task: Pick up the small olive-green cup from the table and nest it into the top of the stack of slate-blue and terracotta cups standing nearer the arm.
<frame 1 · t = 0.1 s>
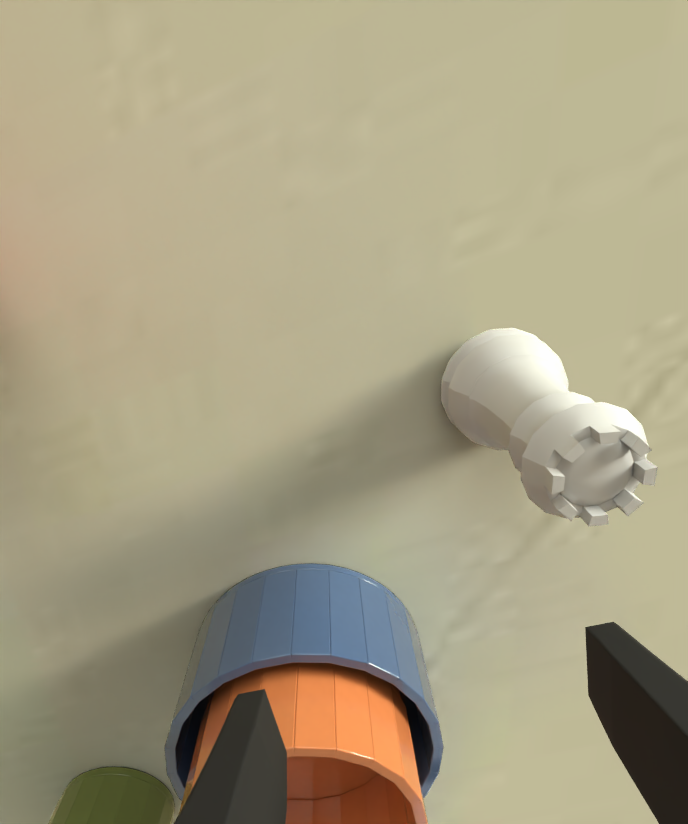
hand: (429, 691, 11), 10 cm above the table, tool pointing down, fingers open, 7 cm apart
stack big: (308, 655, 24), on the table
rook chess piece: (493, 381, 20), on the table
stack mid: (306, 730, 20), in the stack big
olive cup: (119, 804, 27), on the table
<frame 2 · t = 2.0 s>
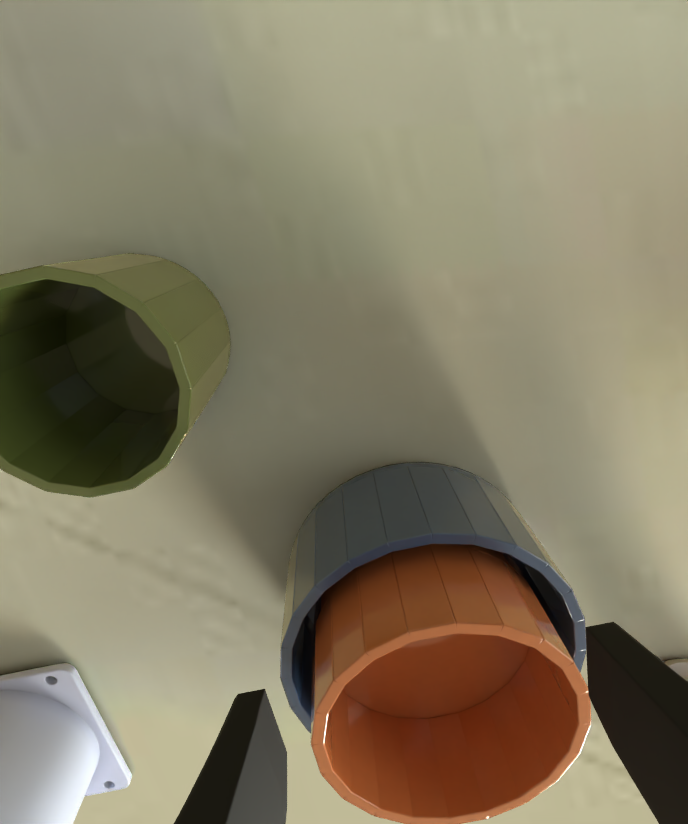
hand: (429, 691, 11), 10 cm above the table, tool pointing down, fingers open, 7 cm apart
stack big: (409, 570, 22), on the table
rook chess piece: (668, 684, 25), on the table
stack mid: (427, 636, 18), in the stack big
olive cup: (148, 339, 18), on the table
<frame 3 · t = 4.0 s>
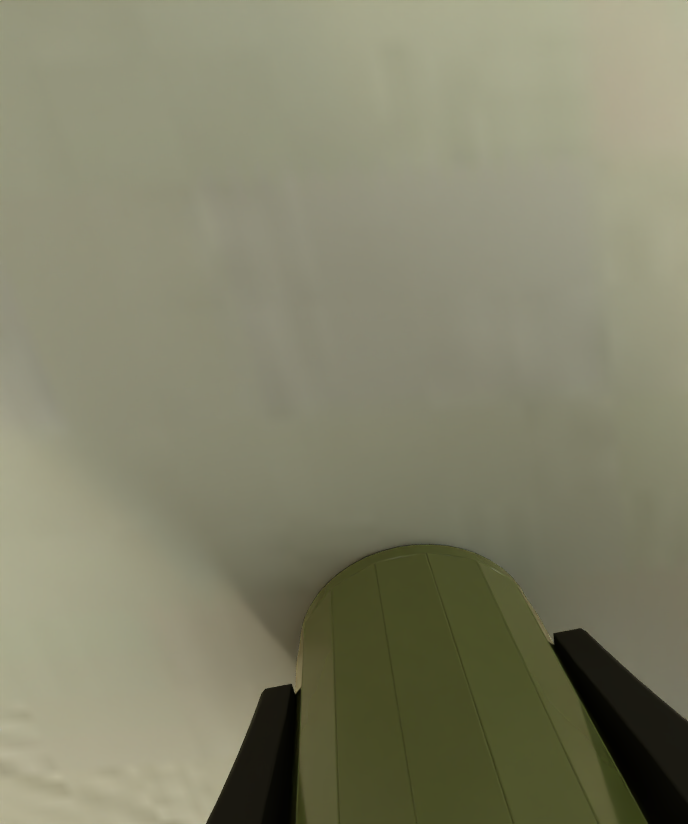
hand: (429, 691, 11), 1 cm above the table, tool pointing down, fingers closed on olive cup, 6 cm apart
olive cup: (416, 642, 13), on the table, touching gripper
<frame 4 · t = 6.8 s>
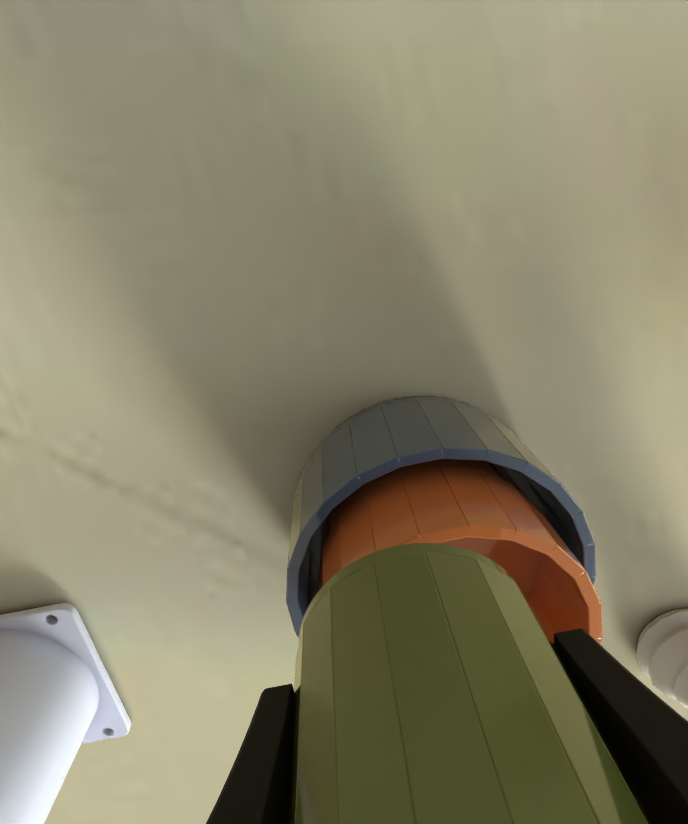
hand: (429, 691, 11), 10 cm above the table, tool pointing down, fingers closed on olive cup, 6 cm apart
stack big: (415, 511, 22), on the table
rook chess piece: (672, 636, 25), on the table
stack mid: (434, 566, 18), in the stack big
olive cup: (416, 641, 12), point 9 cm above the table, touching gripper
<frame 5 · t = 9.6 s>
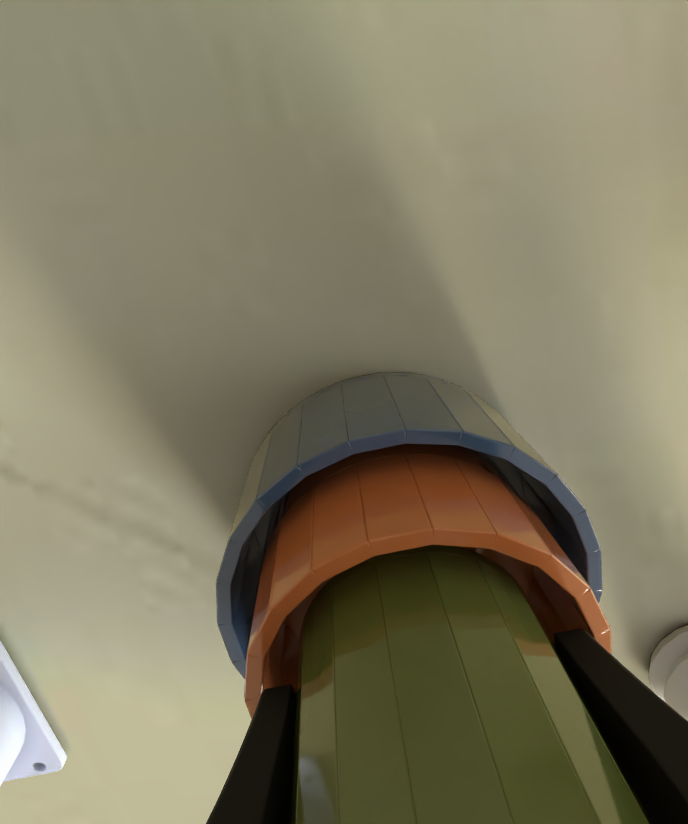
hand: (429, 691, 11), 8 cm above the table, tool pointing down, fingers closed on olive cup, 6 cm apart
stack big: (388, 510, 18), on the table
stack mid: (404, 577, 15), in the stack big
olive cup: (416, 641, 13), point 6 cm above the table, touching gripper
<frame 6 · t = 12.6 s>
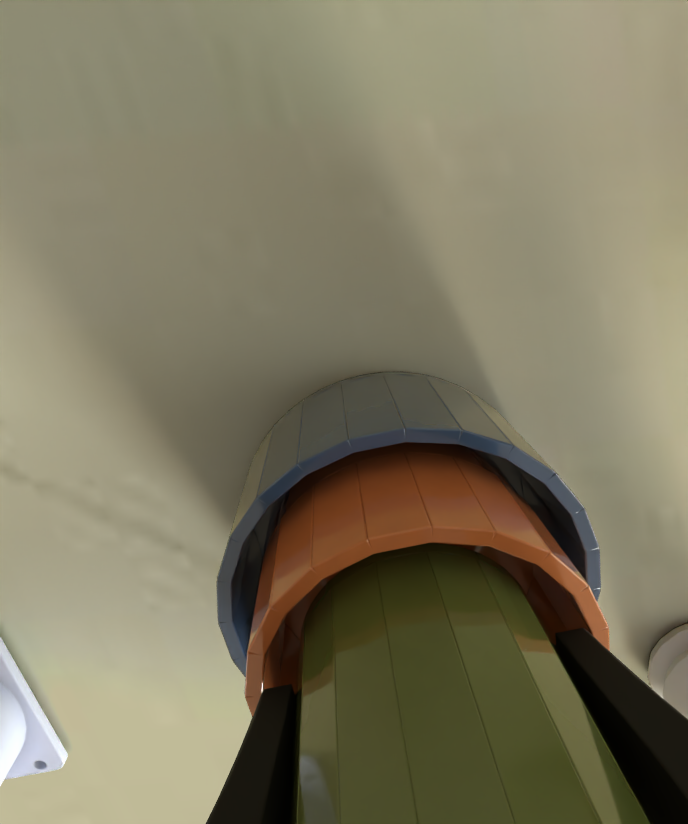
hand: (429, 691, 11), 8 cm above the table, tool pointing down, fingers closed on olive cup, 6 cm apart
stack big: (387, 509, 18), on the table
stack mid: (403, 576, 15), in the stack big
olive cup: (417, 641, 13), point 6 cm above the table, touching gripper
when the fingers open (8 cm above the table, at t = 15.0 s): olive cup drops 3 cm, resting on stack mid.
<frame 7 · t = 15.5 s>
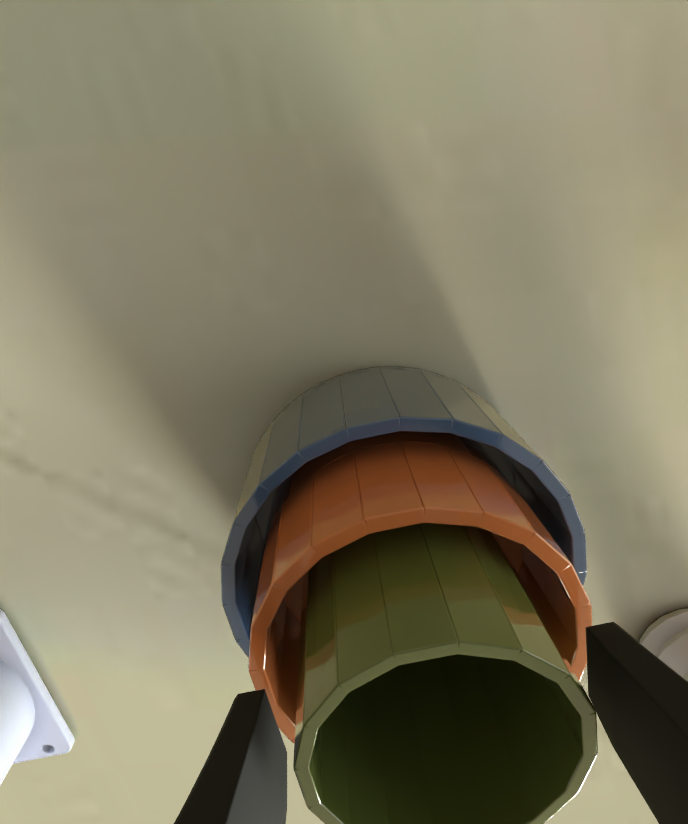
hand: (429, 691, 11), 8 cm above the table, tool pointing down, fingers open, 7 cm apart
stack big: (384, 499, 19), on the table
rook chess piece: (677, 638, 22), on the table
stack mid: (399, 561, 16), in the stack big
olive cup: (400, 565, 15), point 4 cm above the table, touching stack mid
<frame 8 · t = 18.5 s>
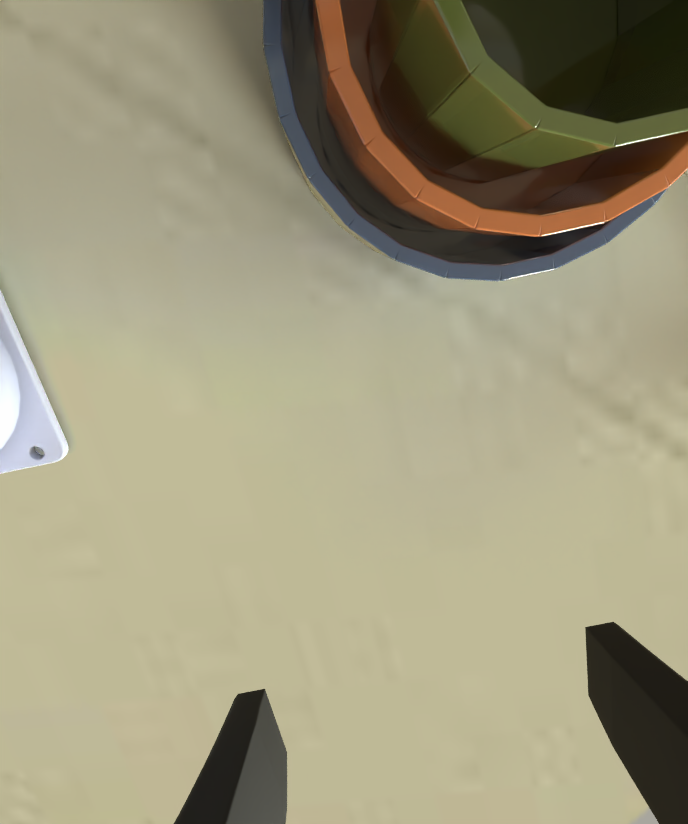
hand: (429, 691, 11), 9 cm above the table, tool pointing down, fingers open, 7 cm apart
stack big: (451, 88, 15), on the table
stack mid: (490, 47, 12), in the stack big
olive cup: (495, 42, 12), point 4 cm above the table, touching stack mid
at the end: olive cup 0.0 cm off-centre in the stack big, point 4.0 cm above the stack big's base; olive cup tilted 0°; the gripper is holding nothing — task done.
